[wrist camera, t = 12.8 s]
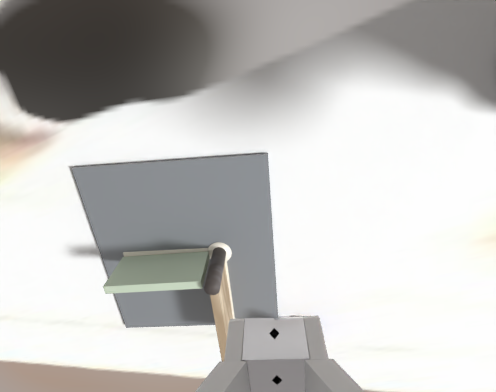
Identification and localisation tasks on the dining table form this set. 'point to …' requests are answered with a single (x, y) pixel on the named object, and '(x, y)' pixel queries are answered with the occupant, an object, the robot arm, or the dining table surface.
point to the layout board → (186, 230)
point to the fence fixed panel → (219, 296)
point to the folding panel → (158, 273)
